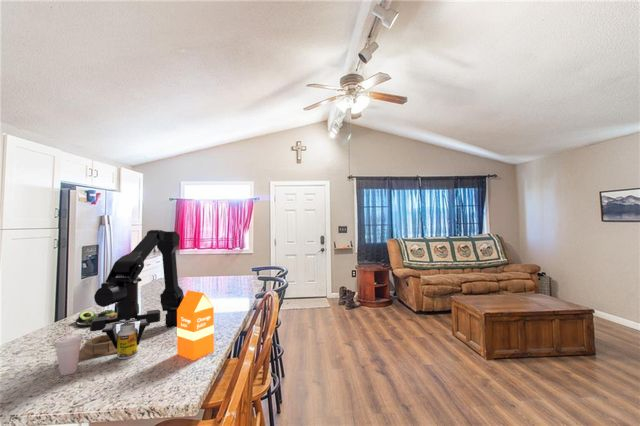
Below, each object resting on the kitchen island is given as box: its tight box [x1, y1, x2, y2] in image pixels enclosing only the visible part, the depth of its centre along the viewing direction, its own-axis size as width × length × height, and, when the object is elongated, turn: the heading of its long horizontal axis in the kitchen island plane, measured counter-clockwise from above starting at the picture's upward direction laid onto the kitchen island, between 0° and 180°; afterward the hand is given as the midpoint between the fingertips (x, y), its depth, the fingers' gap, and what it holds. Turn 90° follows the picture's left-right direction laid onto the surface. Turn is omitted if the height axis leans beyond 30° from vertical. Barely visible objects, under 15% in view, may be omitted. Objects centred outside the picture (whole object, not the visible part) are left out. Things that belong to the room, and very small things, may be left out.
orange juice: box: [176, 289, 215, 361], centre depth 98 cm, size 8×9×20 cm
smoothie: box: [53, 322, 84, 376], centre depth 86 cm, size 6×6×14 cm
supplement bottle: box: [116, 322, 139, 360], centre depth 96 cm, size 6×6×10 cm
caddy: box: [78, 333, 117, 361], centre depth 101 cm, size 14×12×4 cm
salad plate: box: [75, 309, 117, 328], centre depth 134 cm, size 19×18×5 cm
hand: (127, 346), depth 96 cm, fingers closed on supplement bottle, 6 cm apart
